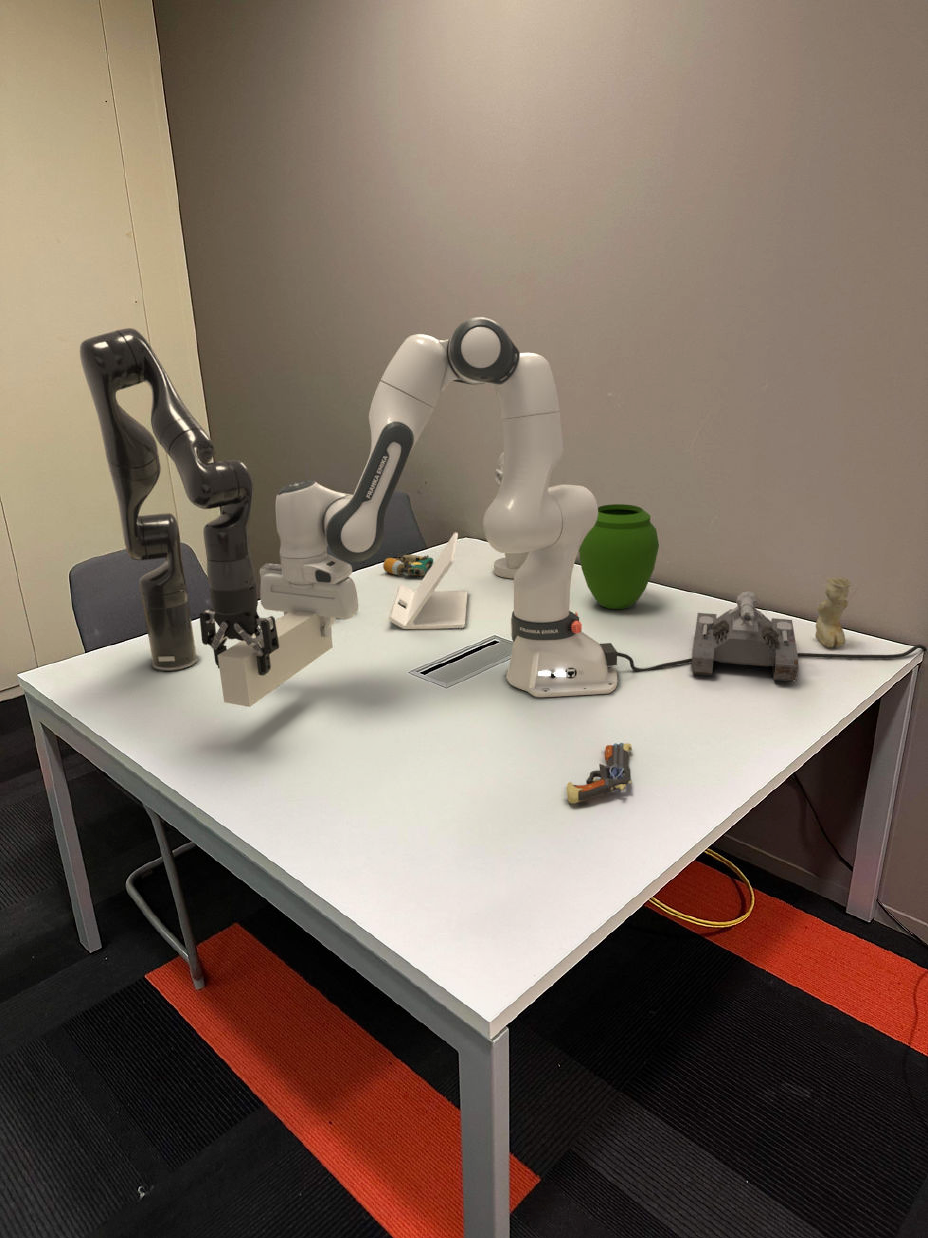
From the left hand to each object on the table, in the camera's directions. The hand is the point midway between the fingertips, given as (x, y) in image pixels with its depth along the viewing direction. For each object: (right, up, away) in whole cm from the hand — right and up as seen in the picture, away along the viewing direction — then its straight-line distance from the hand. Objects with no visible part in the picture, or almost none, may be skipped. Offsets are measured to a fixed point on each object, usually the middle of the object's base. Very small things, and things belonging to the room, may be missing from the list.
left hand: (243, 670), depth 148 cm
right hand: (+8, +6, +19) cm, 22 cm away
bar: (+4, -1, +11) cm, 12 cm away
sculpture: (+118, +3, +39) cm, 125 cm away
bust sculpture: (+55, +21, +91) cm, 109 cm away
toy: (+97, 0, +33) cm, 103 cm away
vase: (+76, +12, +66) cm, 102 cm away
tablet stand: (+30, +11, +66) cm, 73 cm away
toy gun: (+60, -17, -10) cm, 63 cm away
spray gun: (+23, +23, +99) cm, 104 cm away
